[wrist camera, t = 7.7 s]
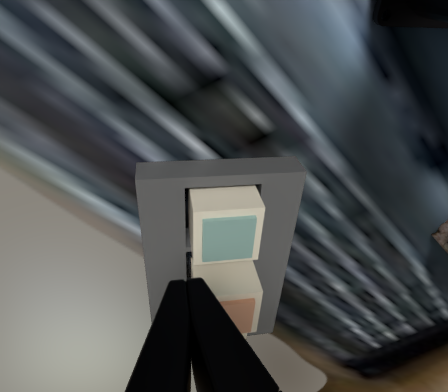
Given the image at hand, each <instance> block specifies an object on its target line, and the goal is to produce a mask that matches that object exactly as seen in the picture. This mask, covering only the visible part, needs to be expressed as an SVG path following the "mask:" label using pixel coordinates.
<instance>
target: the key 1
mask: <svg viewBox="0 0 448 392" xmlns="http://www.w3.org/2000/svg"><path fill="white" fill-rule="evenodd" d="M264 214H265V205H264V203H263V201H262V199H261V197H260V195H259V193H258V190H257V188H256V186H255V184H253V185H234V186H215V187H196V188H188V219H189V236H190V244H191V251H192V259H193V265H204V264H215V263H226V262H237V261H247V260H258V255H259V248H260V241H261V234H262V227H263V220H264Z"/></svg>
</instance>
